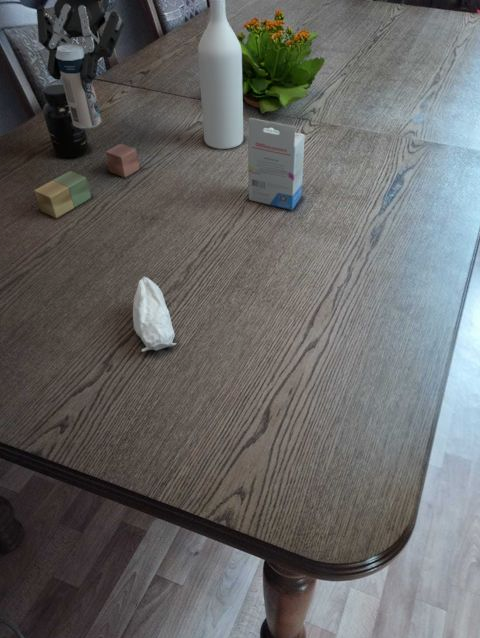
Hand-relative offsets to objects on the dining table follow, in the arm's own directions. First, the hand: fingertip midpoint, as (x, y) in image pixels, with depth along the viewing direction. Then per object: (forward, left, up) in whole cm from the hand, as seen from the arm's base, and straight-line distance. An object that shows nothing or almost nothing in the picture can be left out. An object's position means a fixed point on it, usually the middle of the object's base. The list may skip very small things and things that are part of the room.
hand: (70, 78), depth 86 cm
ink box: (+28, +16, -19) cm, 38 cm away
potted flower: (+2, +51, -19) cm, 54 cm away
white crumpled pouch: (+33, -21, -19) cm, 44 cm away
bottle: (+7, +29, -19) cm, 35 cm away
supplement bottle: (-15, +8, -19) cm, 25 cm away
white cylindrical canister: (-1, +2, -8) cm, 9 cm away
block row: (-1, 0, -19) cm, 19 cm away
